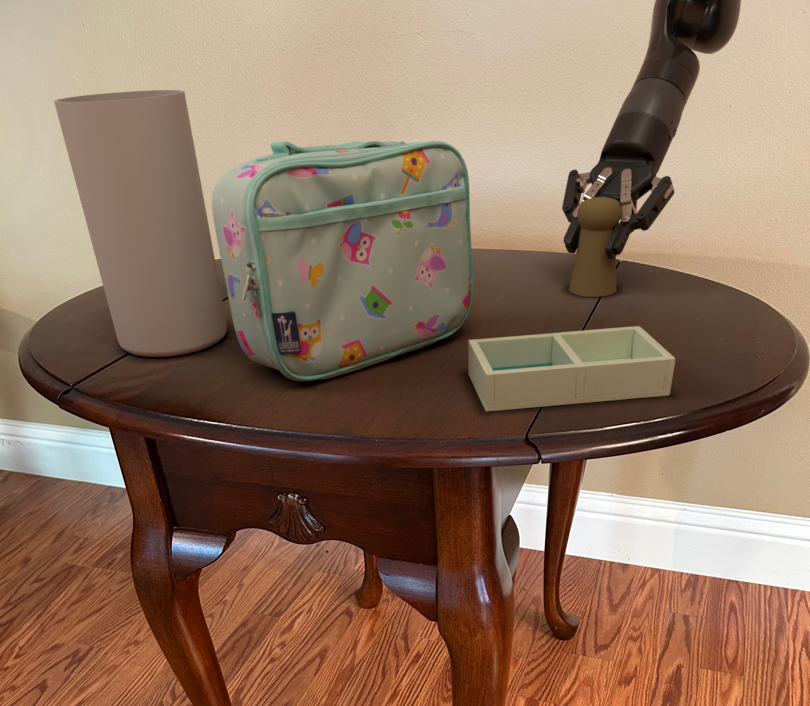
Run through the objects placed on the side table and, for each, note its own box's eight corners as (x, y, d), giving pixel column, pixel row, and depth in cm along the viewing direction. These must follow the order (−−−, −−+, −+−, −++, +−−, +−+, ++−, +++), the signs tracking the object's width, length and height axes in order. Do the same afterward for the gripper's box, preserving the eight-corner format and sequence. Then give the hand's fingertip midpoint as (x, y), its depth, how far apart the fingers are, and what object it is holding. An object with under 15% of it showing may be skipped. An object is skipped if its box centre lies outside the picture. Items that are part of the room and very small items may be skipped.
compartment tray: (635, 360, 78) (639, 325, 76) (669, 395, 71) (675, 358, 69) (468, 374, 77) (468, 339, 75) (485, 411, 70) (486, 374, 68)
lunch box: (272, 404, 73) (233, 158, 61) (226, 373, 80) (183, 147, 68) (482, 338, 86) (485, 122, 74) (426, 316, 93) (421, 116, 81)
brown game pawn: (604, 299, 95) (613, 205, 89) (560, 292, 98) (566, 201, 92) (624, 286, 99) (634, 195, 93) (581, 280, 102) (589, 192, 96)
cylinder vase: (199, 362, 83) (145, 99, 69) (98, 357, 86) (26, 104, 72) (245, 324, 93) (205, 88, 79) (153, 321, 96) (99, 92, 82)
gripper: (583, 108, 96) (529, 228, 95) (694, 110, 88) (636, 241, 87) (598, 148, 102) (548, 262, 101) (704, 154, 94) (650, 277, 94)
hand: (589, 251), depth 94 cm, fingers closed on brown game pawn, 5 cm apart
